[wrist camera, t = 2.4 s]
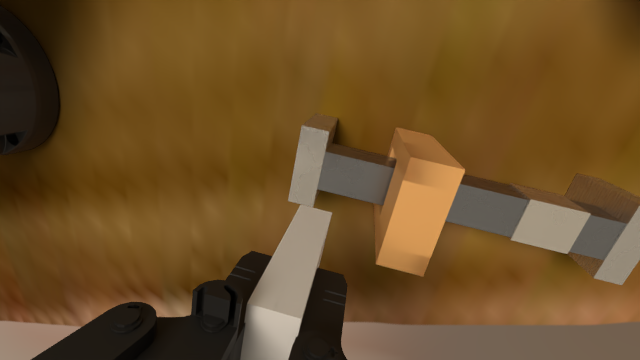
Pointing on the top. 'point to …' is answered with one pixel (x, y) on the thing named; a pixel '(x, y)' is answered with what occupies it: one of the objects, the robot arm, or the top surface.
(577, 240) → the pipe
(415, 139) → the collar
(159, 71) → the top surface
